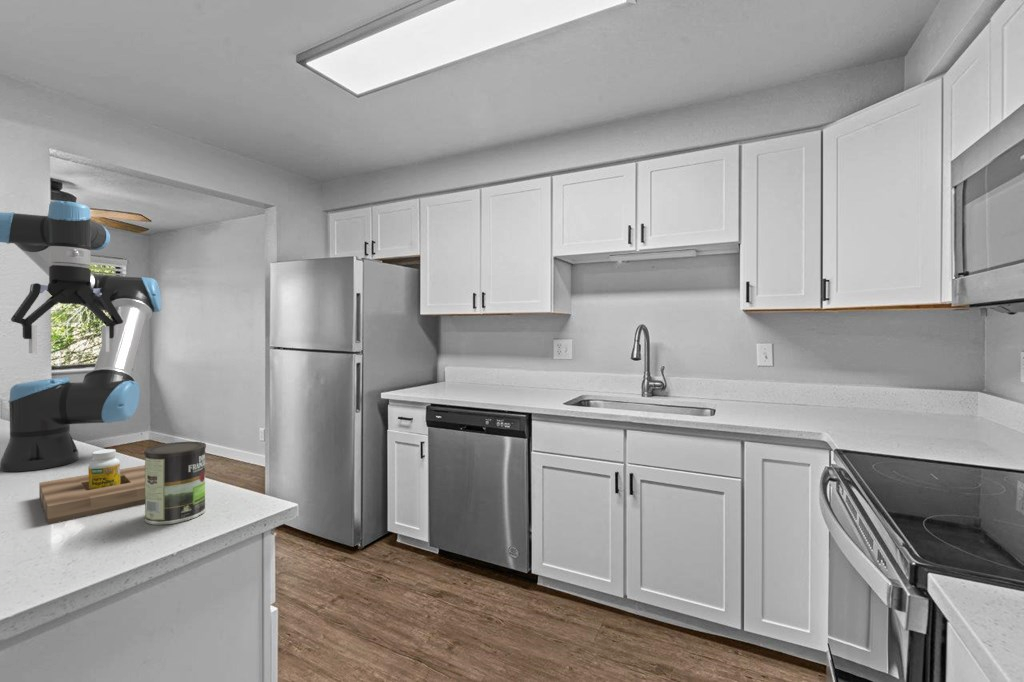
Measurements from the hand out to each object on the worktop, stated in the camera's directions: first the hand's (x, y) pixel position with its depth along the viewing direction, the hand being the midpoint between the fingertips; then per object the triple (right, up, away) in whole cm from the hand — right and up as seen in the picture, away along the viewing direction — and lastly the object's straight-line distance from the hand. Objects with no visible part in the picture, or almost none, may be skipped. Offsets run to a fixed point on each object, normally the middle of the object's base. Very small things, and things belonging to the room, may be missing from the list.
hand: (71, 352), depth 117 cm
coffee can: (+40, -33, -20) cm, 56 cm away
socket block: (+18, -32, -11) cm, 39 cm away
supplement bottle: (+18, -32, -11) cm, 38 cm away
